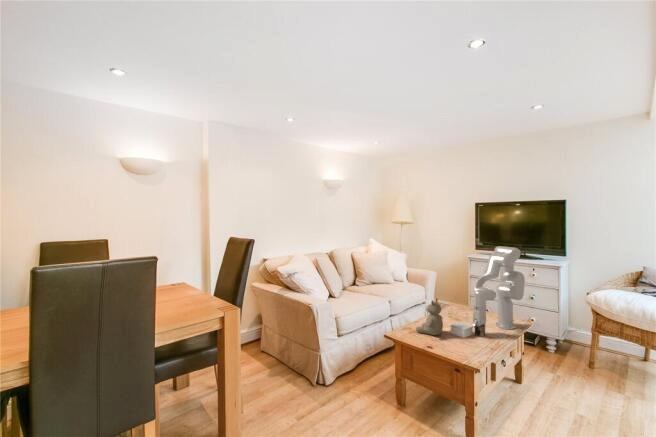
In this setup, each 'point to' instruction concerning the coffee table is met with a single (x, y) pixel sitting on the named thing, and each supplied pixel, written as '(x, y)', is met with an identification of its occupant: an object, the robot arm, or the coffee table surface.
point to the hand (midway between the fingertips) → (480, 333)
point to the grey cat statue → (432, 320)
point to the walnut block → (481, 330)
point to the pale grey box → (461, 329)
